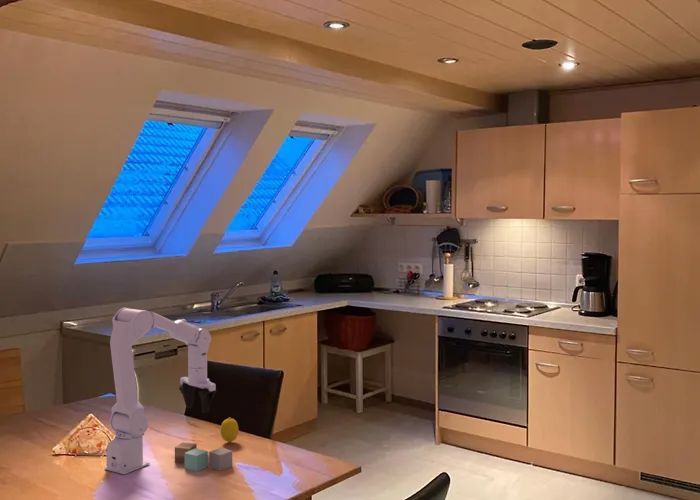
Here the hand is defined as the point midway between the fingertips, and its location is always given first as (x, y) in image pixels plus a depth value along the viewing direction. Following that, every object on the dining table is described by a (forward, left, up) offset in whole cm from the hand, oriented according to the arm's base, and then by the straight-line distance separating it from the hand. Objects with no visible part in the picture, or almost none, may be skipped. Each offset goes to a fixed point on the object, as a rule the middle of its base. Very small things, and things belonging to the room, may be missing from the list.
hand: (197, 410), depth 215 cm
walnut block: (-14, -8, -10) cm, 19 cm away
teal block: (-16, -14, -10) cm, 24 cm away
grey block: (-12, -20, -10) cm, 26 cm away
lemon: (+5, -9, -10) cm, 14 cm away
